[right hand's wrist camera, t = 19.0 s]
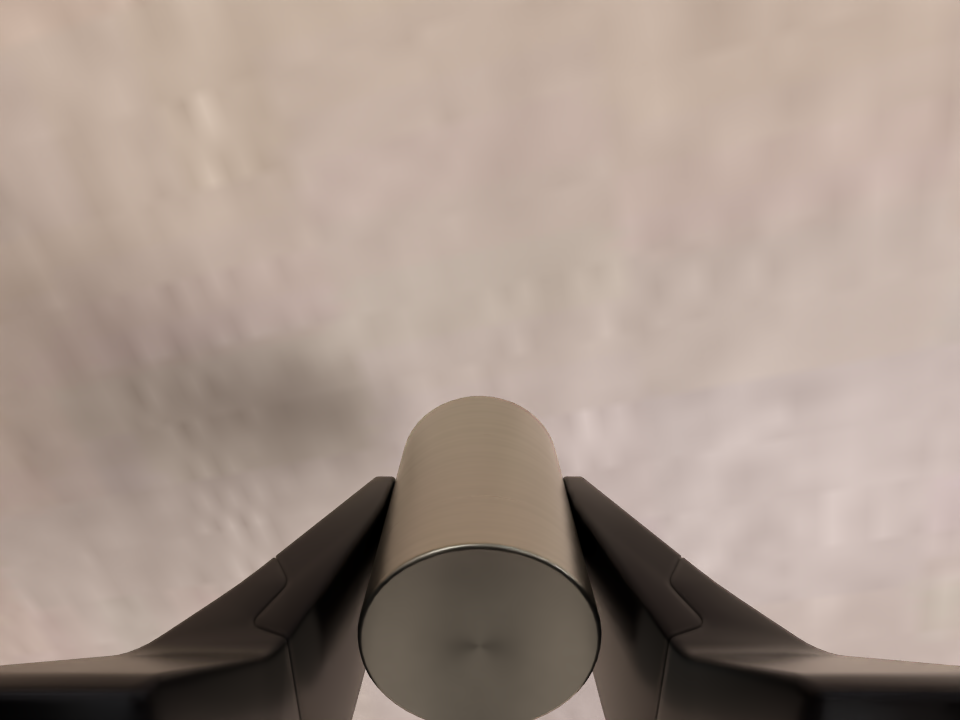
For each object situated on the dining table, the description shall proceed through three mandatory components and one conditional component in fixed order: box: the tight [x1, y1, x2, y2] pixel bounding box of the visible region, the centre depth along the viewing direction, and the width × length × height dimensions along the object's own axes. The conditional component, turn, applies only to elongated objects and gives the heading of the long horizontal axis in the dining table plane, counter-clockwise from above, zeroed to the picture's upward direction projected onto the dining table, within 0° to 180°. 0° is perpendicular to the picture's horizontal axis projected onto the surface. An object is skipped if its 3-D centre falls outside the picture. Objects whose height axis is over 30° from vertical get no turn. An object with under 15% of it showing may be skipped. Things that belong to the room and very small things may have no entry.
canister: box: [357, 396, 602, 720], centre depth 10 cm, size 4×4×5 cm
